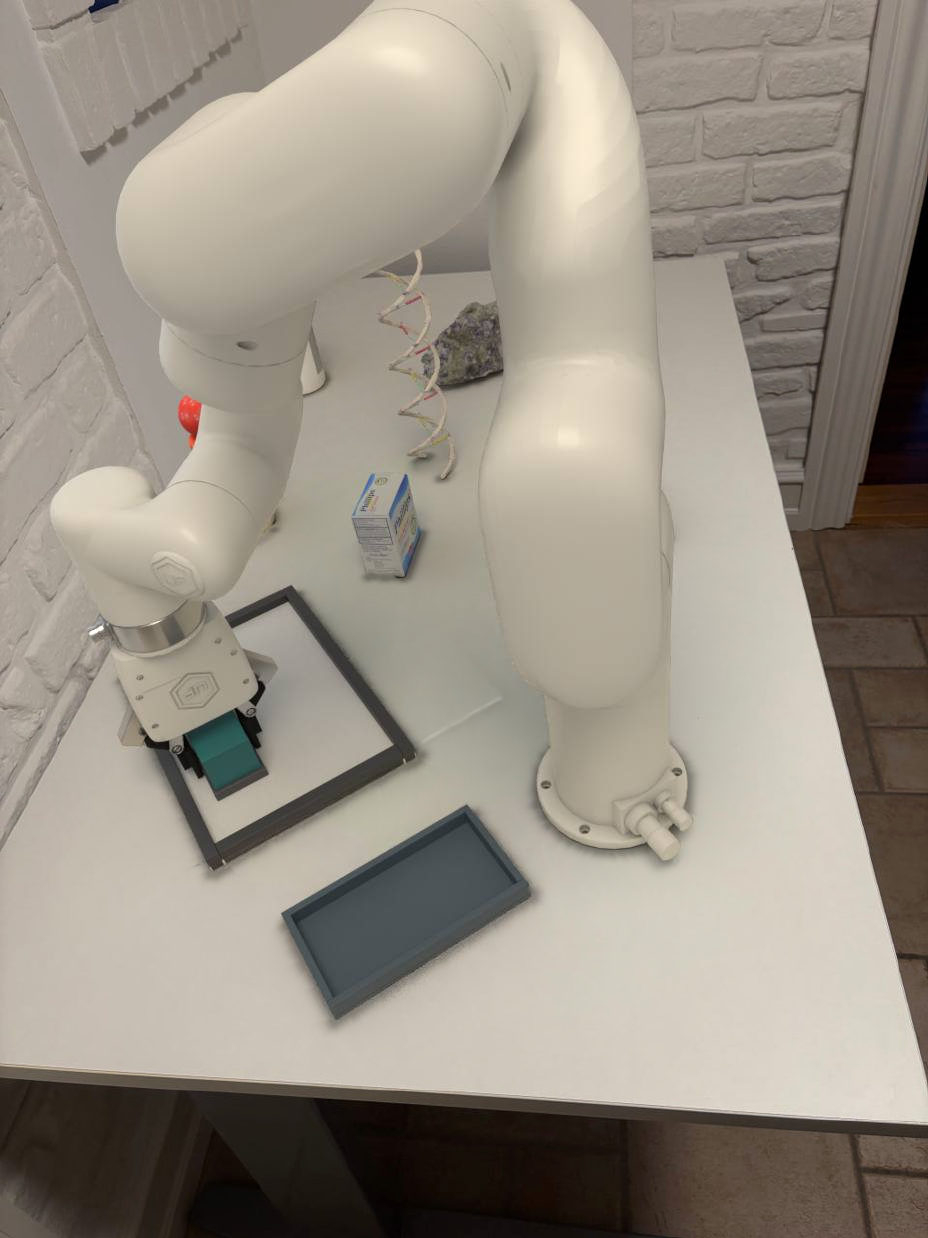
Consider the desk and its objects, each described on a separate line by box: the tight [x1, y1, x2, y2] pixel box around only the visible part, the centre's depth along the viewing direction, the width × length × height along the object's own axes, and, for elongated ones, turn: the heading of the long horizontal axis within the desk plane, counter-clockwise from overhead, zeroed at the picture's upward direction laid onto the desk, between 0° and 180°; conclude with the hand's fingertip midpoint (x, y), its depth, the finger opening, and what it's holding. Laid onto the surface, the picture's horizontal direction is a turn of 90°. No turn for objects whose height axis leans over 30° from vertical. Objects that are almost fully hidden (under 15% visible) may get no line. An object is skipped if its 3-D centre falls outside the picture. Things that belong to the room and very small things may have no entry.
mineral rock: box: [420, 300, 504, 386], centre depth 132 cm, size 13×11×10 cm
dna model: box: [373, 248, 456, 480], centre depth 109 cm, size 7×6×30 cm
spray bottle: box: [300, 325, 327, 396], centre depth 134 cm, size 7×7×18 cm
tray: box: [280, 804, 531, 1021], centre depth 75 cm, size 9×17×2 cm, turn 121°
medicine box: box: [350, 472, 421, 578], centre depth 105 cm, size 8×4×9 cm, turn 168°
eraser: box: [184, 709, 269, 801], centre depth 87 cm, size 10×5×5 cm, turn 31°
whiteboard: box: [153, 584, 417, 873], centre depth 92 cm, size 28×20×2 cm
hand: (224, 751), depth 89 cm, fingers closed on eraser, 5 cm apart
